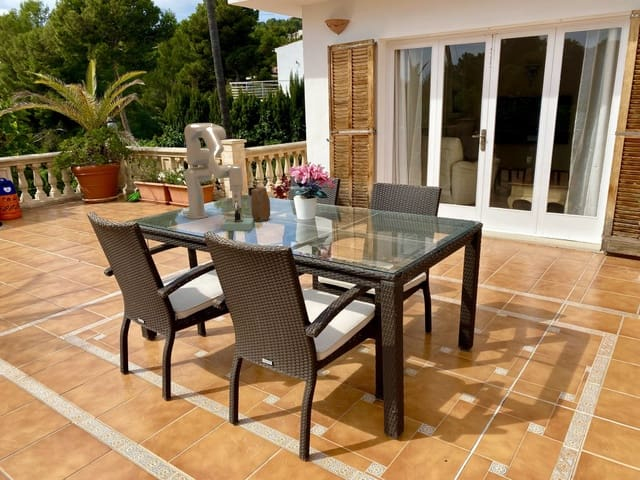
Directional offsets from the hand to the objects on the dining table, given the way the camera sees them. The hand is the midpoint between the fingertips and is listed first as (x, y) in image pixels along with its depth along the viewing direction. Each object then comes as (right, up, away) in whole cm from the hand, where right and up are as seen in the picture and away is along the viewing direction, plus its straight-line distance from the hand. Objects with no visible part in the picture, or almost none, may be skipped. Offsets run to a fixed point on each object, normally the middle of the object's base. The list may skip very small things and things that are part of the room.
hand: (238, 218), depth 285 cm
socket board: (0, -5, +1) cm, 6 cm away
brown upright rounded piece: (+11, 0, +19) cm, 22 cm away
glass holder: (+6, +7, +48) cm, 49 cm away
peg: (0, -5, +2) cm, 6 cm away
